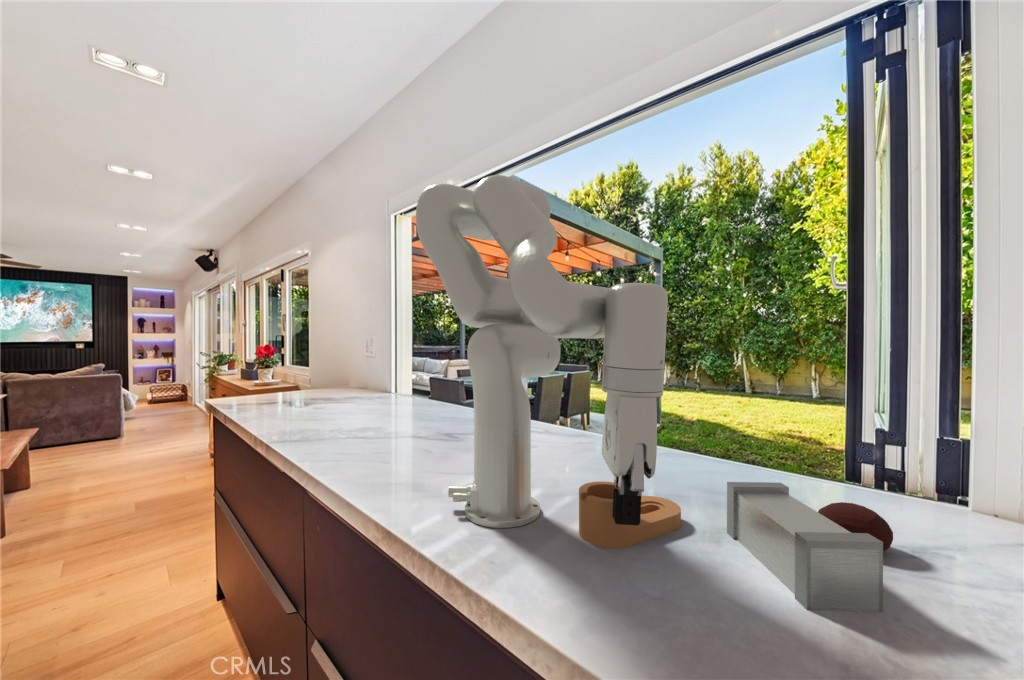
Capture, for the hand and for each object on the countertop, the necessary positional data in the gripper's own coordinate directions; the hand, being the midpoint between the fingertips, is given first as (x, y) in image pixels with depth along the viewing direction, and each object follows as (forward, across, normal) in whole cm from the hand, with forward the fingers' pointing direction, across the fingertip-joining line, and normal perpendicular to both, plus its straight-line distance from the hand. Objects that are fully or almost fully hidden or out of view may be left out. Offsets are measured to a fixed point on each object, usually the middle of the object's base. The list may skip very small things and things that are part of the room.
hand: (625, 521), depth 54 cm
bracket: (+6, -10, +3) cm, 12 cm away
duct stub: (+5, 0, +21) cm, 22 cm away
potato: (+5, -6, +33) cm, 34 cm away
